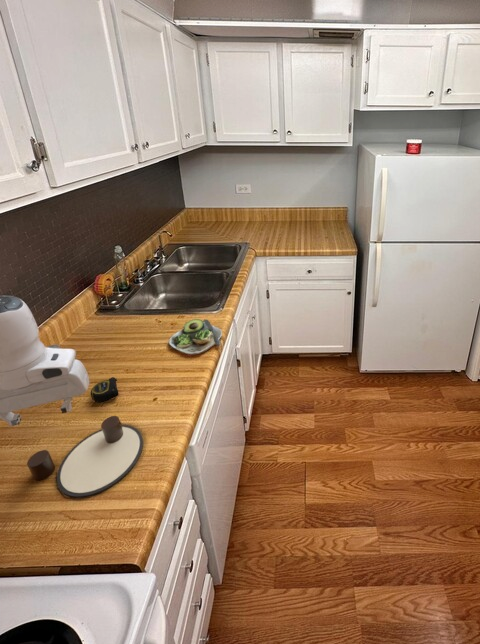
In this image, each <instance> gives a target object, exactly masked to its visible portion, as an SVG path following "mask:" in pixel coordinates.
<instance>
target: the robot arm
mask: <svg viewBox="0 0 480 644" xmlns="http://www.w3.org/2000/svg"><path fill="white" fill-rule="evenodd" d="M47 347H48V346H45V344H44V343H43V342H42V341H41V339H40V329H39V327H38V324H37V321H36V319H35V317H34V314H33V312H32V311H31V309H30V307H29V306H28V305H27V303H25V301H23V299H21V298H19V297H18V296H14V295H0V420H2V421H4V422H7V424H8V426H9V427H15V426H19V425H20V424H21V422H22V416H21V414H20V413H19V412H18V413H14V412H16V411H20V410H25V409H28V408H33V407H36V406H37V407H38V406H41V405H45V404H50V403H54V402H57V401H58V402H59V401H62V400H63V402H62V403H61V406H60V411H61V413H62V414H66V413H70V412H71V411H72V408H73V407H72V406H73V405H72V400H73V398H75V397H79V396H82V395H85V393H87V391H88V389H89V387H90V383H91V381H90V376H89V374H88V372H87V369H86V367H85V365H84V363H83V362H82V361H81V360H79V359H77V358H76V357H77V351H76V350H75V349H73V348H62V349H58V348H47Z"/></svg>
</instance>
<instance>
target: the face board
mask: <svg viewBox="0 0 480 644" xmlns="http://www.w3.org/2000/svg"><path fill="white" fill-rule="evenodd" d="M121 426H122V429H123V436H122V437H121V439H120V440H118V441H117V442H115V443H107V442H106V440H105V437H104V434H103V431H102V428H101V429H99V430H96V431H94V432H93V433H91V434H89V435H87V436H86V437H85V438H83V439H81V440H80V441H79V442H78V443H77V444H76V445H75V446H73V448H72V449H71V450H70V451H69V452H68V453H67V454H66V455H65V457H64V458H63V460H62V461H61V463H60V465H59V468H58V470H57V474H56V485H57V487H58V490H59V491H60V492H61V493H62V494H63V495H64V496H67V497H69V498H73V499H75V498H77V499H82V498H88V497H92V496H96V495H98V494H101V493H102V492H104V491H106V490H108V489H110V488H112V487H114V486H115V485H117V484H118V483H119V482H120V481H122V480H123V479H124V478H125V477H126V476H127V475H128V474H129V473H130V472H131V471H132V470H133V468H134V467H135V466H136V464H137V463H138V461H139V460H140V457H141V455H142V452H143V449H144V440H143V435H142V433H141V432H140V430H138V429H137V428H136V427H134V426H131V425H128V424H121Z"/></svg>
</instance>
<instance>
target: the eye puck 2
mask: <svg viewBox="0 0 480 644" xmlns="http://www.w3.org/2000/svg"><path fill="white" fill-rule="evenodd" d="M121 425H122V423H121V419H120V417H119V416H117V415H112V416H111V415H110V416H109V417H106V418H105V419H104V420H103V421H102V423H101V425H100V428H101V429H102V431H103V434H104V437H105V440H106V442H107V443H115V442H117V441H118V440H120V439H121V437H122V436H123V429H122V426H121Z"/></svg>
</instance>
